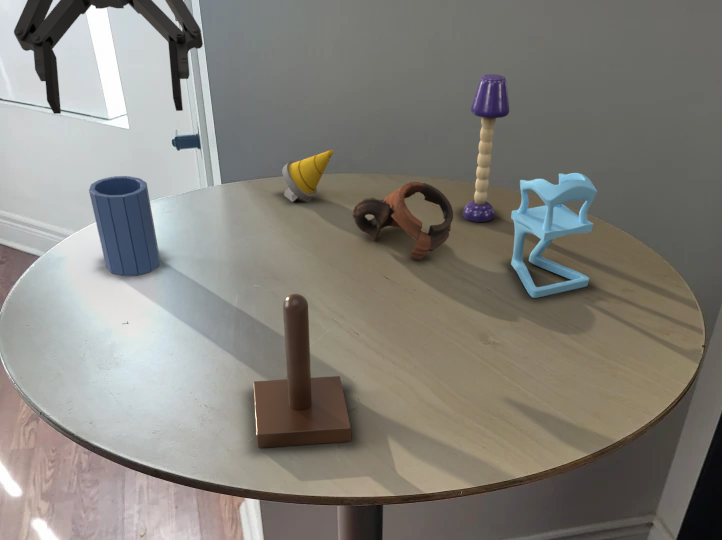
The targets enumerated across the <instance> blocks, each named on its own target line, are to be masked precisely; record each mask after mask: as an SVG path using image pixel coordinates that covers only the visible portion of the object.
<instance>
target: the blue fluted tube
mask: <svg viewBox="0 0 722 540" xmlns="http://www.w3.org/2000/svg"><path fill="white" fill-rule="evenodd" d="M88 193H89V198H90V201H91V206H92V210H93V211H92V212H93V215H94V219H95V223H96V229H97V233H98V237H99V241H100V245H101V249H102V255H103V260H104V263H105V267H106V269H107V271H109V272H110V273H111V274H113V275H118V276H123V277H129V276H131V277H132V276H141V275H144V274H148V273H151V272H153V271H154V270H155V269H157V268H158V267H159V266H160V263H161V259H160V251H159V246H158V241H157V240H158V239H157V235H156V227H155V223H154V222H155V221H154V218H153V217H154V216H153V211H152V206H151V200H150V193H149V188H148V183H147V182H146V181H145V180H143V179H142V178H140V177H135V176H129V175H117V176H115V175H114V176H110V177H105V178H104V177H103V178H100V179H98V180H96V181H94V182H93V183H91V184H90V186H89V189H88Z"/></svg>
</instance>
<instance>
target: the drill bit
mask: <svg viewBox="0 0 722 540" xmlns="http://www.w3.org/2000/svg"><path fill="white" fill-rule="evenodd" d="M334 152H335V149H330V150H327V151H324V152H321V153H318V154H315V155H313V156H312V155H311V156H309V157H307V158H304V159H301V160H298V161H297V160H296V161H295V160H289V161H288V162H287V163H286V164H284V166H283V167H282V170H281V171H282V172H281V173H282V177H283V181H284V182H285V184H286V186H287V188H286V189H284V194H283V196H284V197H286V198H287V199H288V200H289V201H290V202H292V203H294V202H295V201H296V200H297V199H298V198H299V199H301V200H303V201H310V200H311V199H313V198H314V197H315V196H316V195H317V192H318V188H317V187H318V185H319V183H320V181H321V179H322V177H323V174H324V172H325V170H326V168H327V166H328V164H329V162H330V159H331V158H332V156H333V154H334Z"/></svg>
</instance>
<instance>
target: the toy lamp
mask: <svg viewBox="0 0 722 540" xmlns="http://www.w3.org/2000/svg"><path fill="white" fill-rule="evenodd" d="M507 84H508V83H507V79H506V77H505V76H504V75H502V74H495V73H494V74H493V73H490V74H489V73H488V74H483V75H482V76H481V77H480V79H479V82H478V86H477V88H476V91H475V95H474V98H473V100H472V104H471V107H470V112H471V114H472V115H474V116H476V117H478V118H479V117H480V118H481V121H480V123H481V128H480V132H479V138H480V141H479V143H478V152H479V153H478V155H477V158H476V159H477V160H476V162H477V165H478V166H477V167H476V170H475V171H476V172H475V174H476V179H475V185H474V187H475V192H474V196H473V198H474V200H470V201H469V202H468V203H467V204H466V205H465V206H464V208H463V211H462V217H463V218H464V219H466V220H467V221H471V222H476V223H484V222H489V221H492V220H493V219H494V218H495V215H496V213H495V209H494V207H493V205H492V204H491V203H490V202H488V196H489V195H488V189H489V187H490V186H489V185H490V180H489V177H490V175H491V167H490V165H491V163H492V162H491V161H492V154H491V153H492V152H493V151H492V150H493V144H494V143H493V139H494V136H495V129H494V127H495V124H496V120H497V119H498V118H499V119H500V118H501V119H502V118H505V117H507V116H508V115H509V114H510V101H509V100H510V99H509V93H508V92H509V91H508V85H507Z"/></svg>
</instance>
